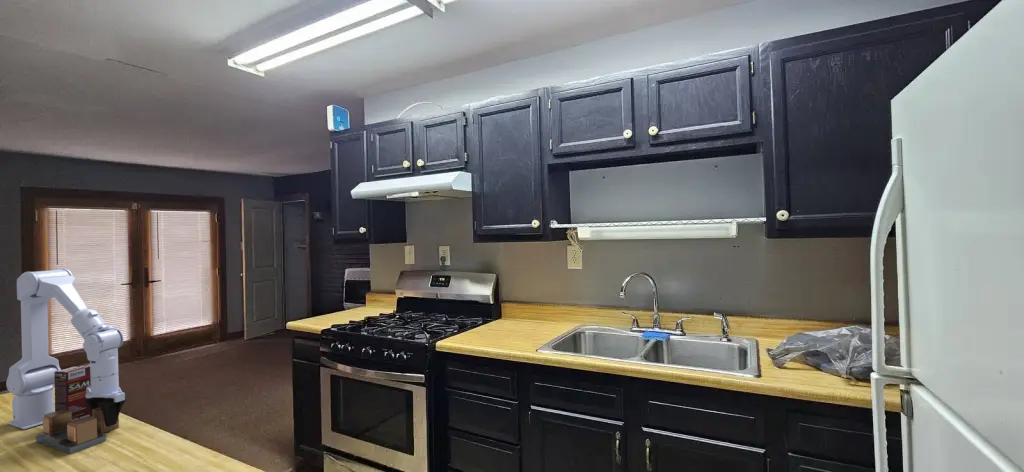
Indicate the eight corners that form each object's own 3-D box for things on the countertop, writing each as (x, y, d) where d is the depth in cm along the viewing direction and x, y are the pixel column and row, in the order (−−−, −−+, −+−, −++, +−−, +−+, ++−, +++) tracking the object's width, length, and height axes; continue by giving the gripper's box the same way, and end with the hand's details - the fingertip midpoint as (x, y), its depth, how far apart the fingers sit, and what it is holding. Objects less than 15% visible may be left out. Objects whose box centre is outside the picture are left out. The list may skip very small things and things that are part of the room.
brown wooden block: (93, 431, 124) (92, 409, 124) (110, 425, 127) (110, 404, 127) (102, 434, 122) (101, 411, 122) (119, 427, 126) (119, 406, 126)
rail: (36, 441, 118) (35, 416, 118) (71, 430, 125) (70, 406, 124) (70, 454, 111) (69, 427, 111) (105, 441, 118) (105, 416, 118)
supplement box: (68, 430, 125) (66, 372, 124) (54, 428, 126) (52, 371, 125) (102, 417, 133) (100, 363, 133) (89, 415, 134) (87, 362, 134)
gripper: (71, 375, 124) (73, 425, 124) (101, 382, 118) (103, 434, 118) (103, 368, 130) (104, 415, 130) (133, 374, 124) (134, 423, 125)
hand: (106, 423), depth 125 cm, fingers closed on brown wooden block, 4 cm apart
